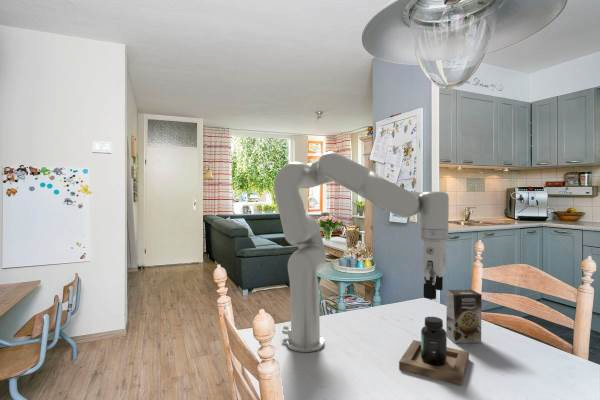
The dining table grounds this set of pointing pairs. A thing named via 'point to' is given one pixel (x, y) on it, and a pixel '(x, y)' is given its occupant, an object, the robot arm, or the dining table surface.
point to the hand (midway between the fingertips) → (433, 293)
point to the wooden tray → (447, 372)
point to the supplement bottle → (434, 342)
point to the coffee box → (463, 316)
